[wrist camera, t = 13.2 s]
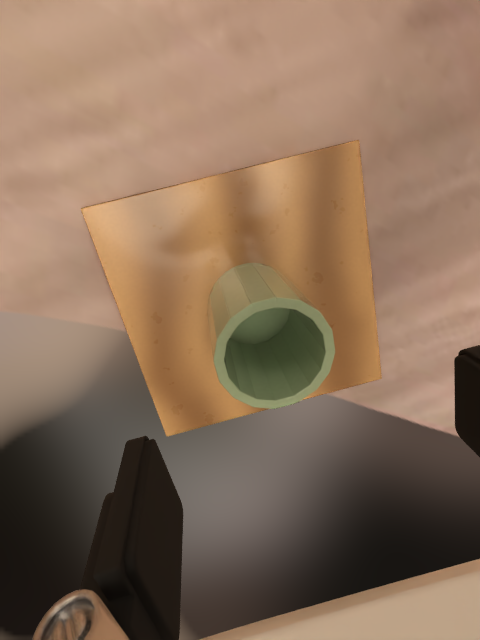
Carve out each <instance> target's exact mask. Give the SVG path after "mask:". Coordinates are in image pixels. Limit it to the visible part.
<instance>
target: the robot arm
mask: <svg viewBox="0 0 480 640" xmlns="http://www.w3.org/2000/svg"><path fill="white" fill-rule="evenodd" d="M454 364H455V428H456V431H457V433H458V435H459V436H460V438H461V439H463V441H464V442H465V443H466V444H467V445H468V446H469V447H470V448H471V449H472V450H473V451H474V452H475V453H476V454H477V455H478V456H479V457H480V345H478V346H475V347H471V348H467V349H464V350H461V351H460V352H459V355H458V356H457V357H456V358H455V361H454ZM182 534H183V508H182V503H181V500H180V498H179V496H178V493H177V491H176V489H175V486H174V484H173V482H172V479H171V477H170V474H169V472H168V469H167V467H166V465H165V462H164V460H163V458H162V455H161V453H160V450H159V448H158V446H157V443H156V441H155V440H154V439H151V440H149V439H148V437H147V436H143V437H140V438H136V439H132V440H129V441H127V442H126V445H125V449H124V453H123V457H122V461H121V465H120V469H119V473H118V477H117V481H116V485H115V489H114V492H113V493H109V494H107V495H106V497H105V500H104V502H103V506H102V509H101V513H100V517H99V520H98V524H97V528H96V532H95V535H94V539H93V543H92V546H91V550H90V554H89V557H88V561H87V565H86V568H85V572H84V576H83V580H82V583H81V587H80V590H78V591H74V592H72V593H70V594H68V595H66V596H64V597H63V598H62V599H60V600H59V601H58V602H57V603H55V604H54V605H53V606H52V608H51V609H50V610H49V611H48V612H47V613H46V614H45V616H44V617H43V619H42V620H41V622H40V624H39V625H38V627H37V629H36V632H35V634H34V637H33V640H179V630H180V597H181V565H182ZM199 640H480V559H478V560H474V561H471V562H467V563H463V564H459V565H456V566H453V567H449V568H445V569H441V570H438V571H435V572H431V573H427V574H424V575H420V576H416V577H413V578H409V579H406V580H402V581H398V582H395V583H392V584H388V585H384V586H381V587H377V588H374V589H370V590H367V591H363V592H359V593H356V594H352V595H349V596H345V597H342V598H338V599H335V600H331V601H328V602H324V603H321V604H317V605H314V606H311V607H307V608H303V609H300V610H296V611H293V612H289V613H286V614H283V615H279V616H275V617H272V618H268V619H265V620H261V621H258V622H255V623H251V624H248V625H245V626H242V627H238V628H235V629H232V630H228V631H225V632H222V633H219V634H215V635H212V636H209V637H206V638H203V639H199Z"/></svg>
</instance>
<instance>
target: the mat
mask: <svg viewBox="0 0 480 640" xmlns="http://www.w3.org/2000/svg"><path fill="white" fill-rule="evenodd" d="M81 211H82V214H83V216H84V219H85V222H86V224H87V227H88V230H89V232H90V235H91V238H92V240H93V243H94V245H95V248H96V251H97V253H98V256H99V259H100V261H101V264H102V267H103V269H104V272H105V275H106V277H107V280H108V283H109V285H110V288H111V290H112V293H113V296H114V298H115V301H116V304H117V306H118V309H119V312H120V314H121V317H122V320H123V322H124V325H125V328H126V330H127V333H128V336H129V338H130V341H131V343H132V346H133V349H134V351H135V354H136V357H137V359H138V362H139V365H140V367H141V370H142V373H143V375H144V378H145V381H146V383H147V386H148V389H149V391H150V394H151V396H152V399H153V402H154V404H155V407H156V410H157V412H158V415H159V418H160V420H161V423H162V426H163V428H164V431H165V434H166V436H171V435H174V434H178V433H182V432H186V431H189V430H193V429H196V428H200V427H204V426H208V425H211V424H215V423H219V422H223V421H226V420H230V419H233V418H237V417H241V416H245V415H248V414H252V413H256V412H260V411H263V410H267V409H270V408H256V407H252V406H250V405H247V404H245V403H243V402H241V401H239V400H237V399H235V398H233V397H232V396H231V395H230V393H229V392H228V391H227V390H226V389H225V388H224V387H223V385H222V384H221V383H220V382H219V379H218V376H217V372H216V369H215V365H214V361H213V354H212V346H211V338H210V330H209V323H208V315H207V311H208V298H209V295H210V292H211V289H212V287H213V286H214V284H215V283H216V281H217V280H218V279H219V278H220V277H221V276H222V275H223V274H224V273H225V272H226V271H228V270H230V269H231V268H233V267H235V266H238V265H241V264H246V263H261V264H266V265H269V266H271V267H273V268H275V269H277V270H278V271H280V272H281V273H282V274H283V275H285V276H286V277H287V278H288V279H289V280H290V281H291V282H292V283H293V284H294V285H295V286H296V287H297V288H298V289H299V290H300V291H301V293H302V294H303V295H304V296H305V297H306V298H307V299H308V300H309V301H310V302H311V303H312V304H313V305H314V306H315V307H316V308H317V309H318V310H319V311H320V312H321V314H322V315H323V317H324V318H325V320H326V321H327V323H328V324H329V326H330V327H331V329H332V331H333V338H334V345H335V355H334V359H333V362H332V366H331V369H330V372H329V374H328V375H327V377H326V378H325V379H324V381H323V382H322V383H321V385H320V386H319V387H318V389H317V390H316V391H314V392H313V393H311V394H310V395H308V396H307V397H305V398H304V399H308V398H312V397H315V396H318V395H323V394H326V393H330V392H334V391H337V390H341V389H345V388H349V387H352V386H356V385H360V384H363V383H367V382H371V381H375V380H378V379H381V378H382V377H381V367H380V356H379V346H378V335H377V325H376V314H375V304H374V293H373V283H372V272H371V262H370V251H369V240H368V230H367V219H366V209H365V198H364V188H363V177H362V167H361V156H360V146H359V140H356V141H352V142H348V143H343V144H339V145H335V146H331V147H327V148H323V149H319V150H315V151H311V152H307V153H303V154H299V155H295V156H291V157H287V158H283V159H279V160H275V161H271V162H267V163H263V164H258V165H254V166H250V167H246V168H242V169H238V170H234V171H230V172H226V173H222V174H218V175H214V176H210V177H206V178H202V179H198V180H194V181H190V182H186V183H182V184H178V185H174V186H169V187H165V188H161V189H157V190H153V191H149V192H145V193H141V194H137V195H133V196H129V197H125V198H121V199H117V200H113V201H109V202H105V203H101V204H97V205H93V206H89V207H84V208H81ZM304 399H302V400H304Z"/></svg>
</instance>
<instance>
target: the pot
mask: <svg viewBox="0 0 480 640" xmlns="http://www.w3.org/2000/svg"><path fill="white" fill-rule="evenodd" d="M207 315H208V323H209V330H210V338H211V346H212V354H213V361H214V365H215V369H216V372H217V376H218V379H219V382H220V383H221V384H222V385H223V387H224V388H225V389H226V390H227V391H228V392H229V393H230V395H231V396H232V397H233V398H235V399H237V400H239V401H241V402H243V403H245V404H247V405H250V406H252V407H256V408H270V409H275V408H280V407H284V406H287V405H291V404H295V403H297V402H299V401H301V400H302V399H304V398H305V397H307V396H308V395H310V394H311V393H313V392H314V391H316V390H317V389H318V387H319V386H320V385H321V383H322V382H323V381H324V379H325V378H326V377H327V375H328V374H329V372H330V369H331V366H332V362H333V359H334V355H335V345H334V338H333V331H332V329H331V327H330V326H329V324H328V323H327V321H326V320H325V318H324V317H323V315H322V314H321V312H320V311H319V310H318V309H317V308H316V307H315V306H314V305H313V304H312V303H311V302H310V301H309V300H308V299H307V298H306V297H305V296H304V295H303V294H302V293H301V291H300V290H299V289H298V288H297V287H296V286H295V285H294V284H293V283H292V282H291V281H290V280H289V279H288V278H287V277H286V276H285V275H283V274H282V273H281V272H280V271H278V270H277V269H275V268H273V267H271V266H269V265H266V264H261V263H246V264H241V265H238V266H235V267H233V268H231V269H230V270H228V271H226V272H225V273H224V274H223V275H222V276H221V277H220V278H219V279H218V280H217V281H216V283H215V284H214V286H213V287H212V289H211V292H210V295H209V298H208V311H207Z"/></svg>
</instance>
